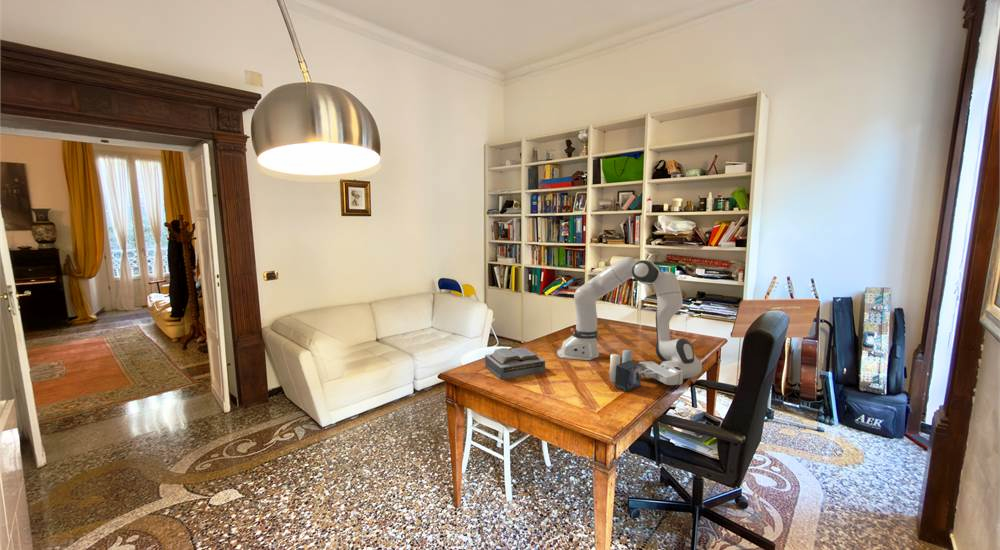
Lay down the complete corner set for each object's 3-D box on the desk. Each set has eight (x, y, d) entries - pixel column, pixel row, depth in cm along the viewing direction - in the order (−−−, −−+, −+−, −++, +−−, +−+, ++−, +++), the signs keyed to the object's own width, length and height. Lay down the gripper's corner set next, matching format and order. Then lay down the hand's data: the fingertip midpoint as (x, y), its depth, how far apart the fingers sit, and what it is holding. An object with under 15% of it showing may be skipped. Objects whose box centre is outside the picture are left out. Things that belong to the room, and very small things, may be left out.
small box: (626, 392, 169) (627, 369, 168) (614, 387, 175) (615, 364, 173) (641, 386, 176) (642, 363, 174) (628, 382, 181) (629, 359, 180)
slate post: (622, 377, 186) (623, 352, 184) (620, 374, 190) (621, 349, 189) (632, 377, 186) (633, 352, 184) (629, 374, 190) (630, 349, 189)
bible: (483, 364, 205) (483, 345, 204) (533, 360, 211) (533, 342, 210) (493, 381, 183) (492, 360, 181) (548, 376, 189) (548, 356, 188)
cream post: (610, 382, 180) (611, 356, 179) (608, 378, 185) (609, 353, 183) (620, 382, 180) (621, 356, 179) (618, 378, 184) (619, 353, 183)
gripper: (653, 356, 190) (629, 360, 186) (685, 372, 170) (658, 375, 166) (653, 369, 191) (628, 372, 187) (684, 386, 171) (657, 390, 167)
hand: (642, 374), depth 176 cm, fingers closed
